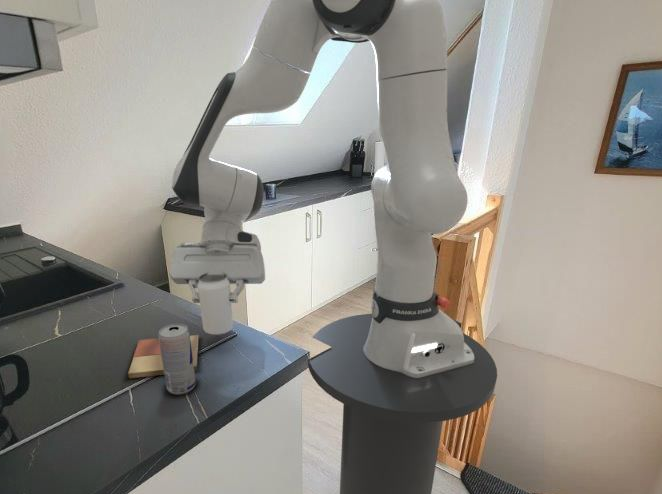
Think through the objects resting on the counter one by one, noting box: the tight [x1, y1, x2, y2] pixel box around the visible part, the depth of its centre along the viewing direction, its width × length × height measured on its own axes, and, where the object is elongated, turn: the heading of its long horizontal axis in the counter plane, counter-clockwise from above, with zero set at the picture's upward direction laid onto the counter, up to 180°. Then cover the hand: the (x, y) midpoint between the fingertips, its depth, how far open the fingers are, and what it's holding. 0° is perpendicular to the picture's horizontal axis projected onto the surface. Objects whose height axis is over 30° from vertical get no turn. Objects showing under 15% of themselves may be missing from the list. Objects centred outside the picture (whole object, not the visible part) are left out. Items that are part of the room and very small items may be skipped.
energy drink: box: [157, 323, 197, 396], centre depth 74 cm, size 5×5×12 cm
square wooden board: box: [127, 334, 200, 379], centre depth 85 cm, size 13×13×1 cm
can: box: [197, 273, 234, 336], centre depth 85 cm, size 6×6×12 cm
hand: (215, 301), depth 84 cm, fingers closed on can, 6 cm apart
